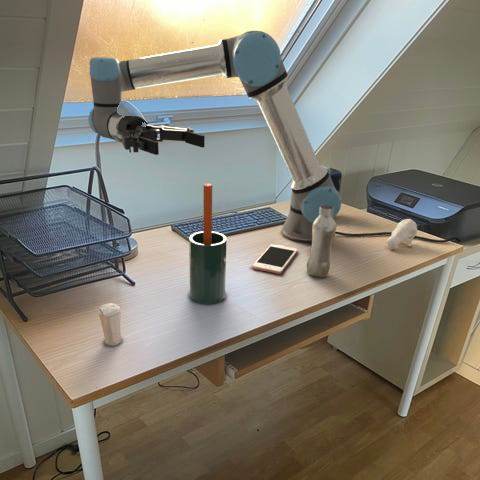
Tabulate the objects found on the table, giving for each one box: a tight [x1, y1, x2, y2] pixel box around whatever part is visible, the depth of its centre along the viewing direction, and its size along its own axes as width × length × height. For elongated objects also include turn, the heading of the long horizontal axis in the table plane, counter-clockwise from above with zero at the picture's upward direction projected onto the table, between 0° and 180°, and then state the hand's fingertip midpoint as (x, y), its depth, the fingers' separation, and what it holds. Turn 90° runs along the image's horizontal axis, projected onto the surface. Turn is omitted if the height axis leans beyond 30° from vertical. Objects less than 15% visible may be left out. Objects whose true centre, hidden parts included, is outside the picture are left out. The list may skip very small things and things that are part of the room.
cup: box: [188, 231, 227, 305], centre depth 120 cm, size 9×9×16 cm
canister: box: [329, 167, 343, 193], centre depth 175 cm, size 10×10×18 cm
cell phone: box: [251, 243, 298, 275], centre depth 144 cm, size 9×18×1 cm, turn 158°
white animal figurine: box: [386, 218, 418, 250], centre depth 156 cm, size 6×8×12 cm
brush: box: [202, 183, 213, 245], centre depth 116 cm, size 5×5×28 cm
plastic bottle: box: [306, 205, 337, 278], centre depth 132 cm, size 6×7×20 cm
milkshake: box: [97, 302, 122, 347], centre depth 102 cm, size 5×5×10 cm
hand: (181, 144), depth 111 cm, fingers open, 13 cm apart
